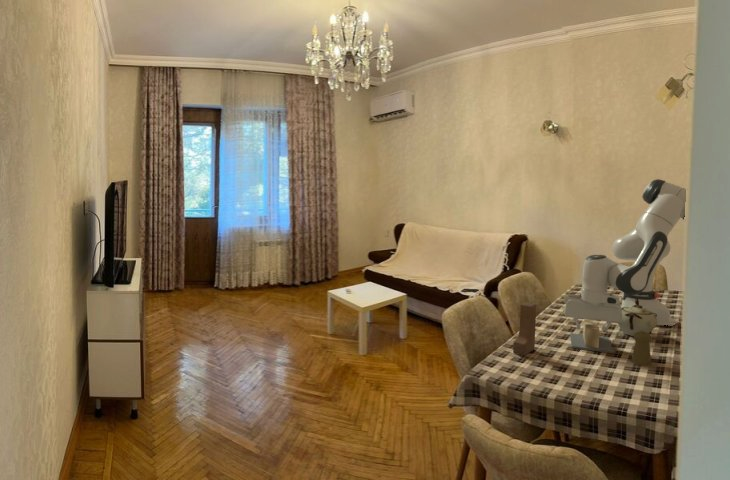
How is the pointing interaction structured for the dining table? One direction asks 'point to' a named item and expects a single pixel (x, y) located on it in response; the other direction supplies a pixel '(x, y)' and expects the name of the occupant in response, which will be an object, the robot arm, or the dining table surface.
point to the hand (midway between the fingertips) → (591, 329)
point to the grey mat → (579, 343)
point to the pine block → (591, 333)
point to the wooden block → (526, 330)
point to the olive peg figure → (642, 349)
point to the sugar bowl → (637, 319)
